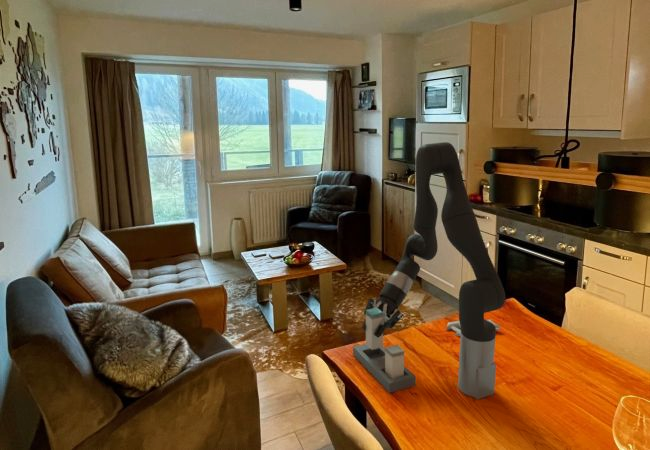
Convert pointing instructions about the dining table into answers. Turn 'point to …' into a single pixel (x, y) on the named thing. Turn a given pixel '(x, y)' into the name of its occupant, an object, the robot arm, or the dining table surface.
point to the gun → (456, 325)
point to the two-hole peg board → (386, 366)
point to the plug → (373, 328)
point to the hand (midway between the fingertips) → (370, 332)
